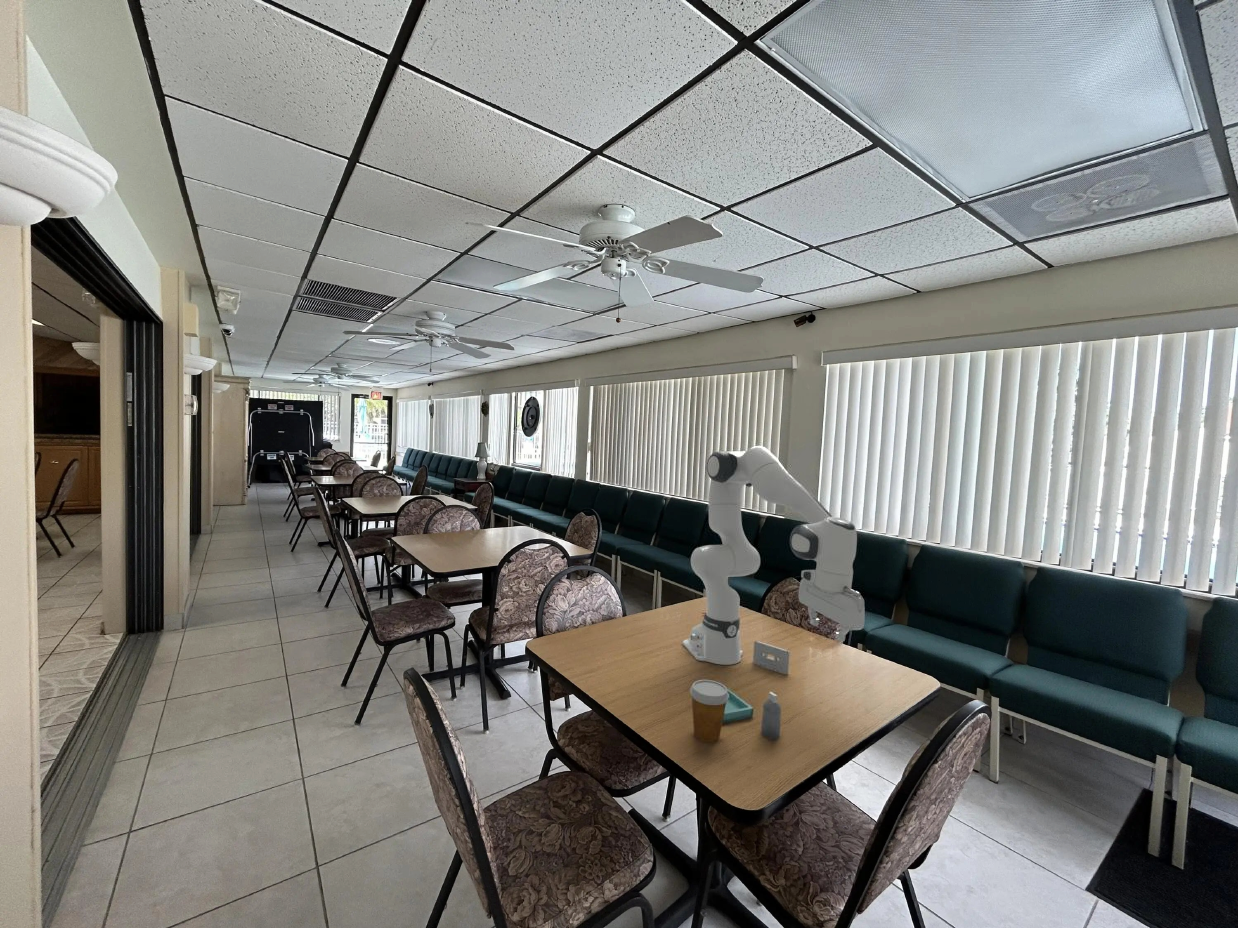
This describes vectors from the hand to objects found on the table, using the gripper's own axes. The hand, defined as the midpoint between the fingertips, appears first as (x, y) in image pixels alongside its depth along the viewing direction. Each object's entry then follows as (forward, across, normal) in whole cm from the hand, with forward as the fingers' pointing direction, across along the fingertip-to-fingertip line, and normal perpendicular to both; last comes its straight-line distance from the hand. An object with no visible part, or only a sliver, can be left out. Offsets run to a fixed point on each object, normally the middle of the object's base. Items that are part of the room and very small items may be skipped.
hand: (826, 632), depth 130 cm
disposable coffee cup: (+26, +2, +31) cm, 41 cm away
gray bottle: (+25, -1, +15) cm, 29 cm away
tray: (+26, +12, +20) cm, 35 cm away
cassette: (+27, +32, -9) cm, 43 cm away
